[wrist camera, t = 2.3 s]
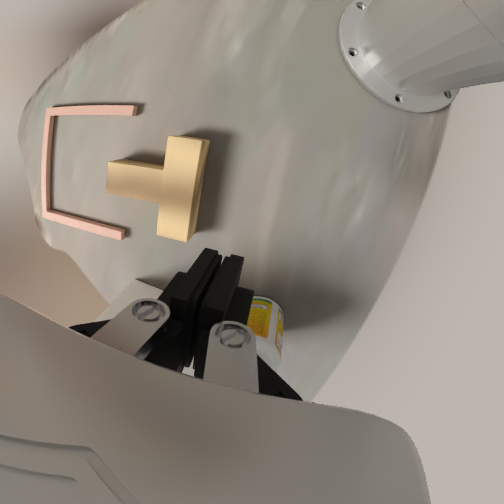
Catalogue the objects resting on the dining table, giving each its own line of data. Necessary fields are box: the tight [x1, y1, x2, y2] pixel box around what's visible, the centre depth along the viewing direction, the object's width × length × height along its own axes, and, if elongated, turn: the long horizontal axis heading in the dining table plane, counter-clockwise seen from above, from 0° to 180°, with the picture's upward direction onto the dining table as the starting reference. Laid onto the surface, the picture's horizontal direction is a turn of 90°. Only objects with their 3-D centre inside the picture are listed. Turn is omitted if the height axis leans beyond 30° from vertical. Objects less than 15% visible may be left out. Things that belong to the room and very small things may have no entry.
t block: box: [106, 136, 210, 242], centre depth 24 cm, size 9×9×2 cm
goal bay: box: [41, 105, 138, 240], centre depth 25 cm, size 14×14×1 cm
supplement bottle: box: [247, 296, 284, 371], centre depth 25 cm, size 5×5×10 cm
